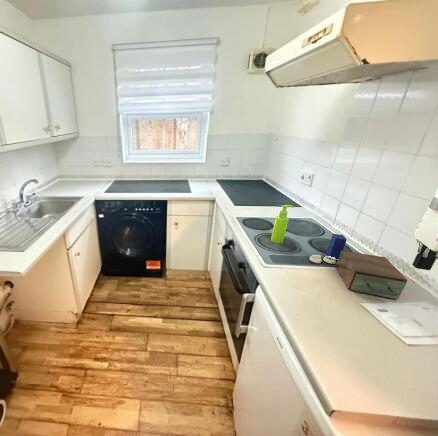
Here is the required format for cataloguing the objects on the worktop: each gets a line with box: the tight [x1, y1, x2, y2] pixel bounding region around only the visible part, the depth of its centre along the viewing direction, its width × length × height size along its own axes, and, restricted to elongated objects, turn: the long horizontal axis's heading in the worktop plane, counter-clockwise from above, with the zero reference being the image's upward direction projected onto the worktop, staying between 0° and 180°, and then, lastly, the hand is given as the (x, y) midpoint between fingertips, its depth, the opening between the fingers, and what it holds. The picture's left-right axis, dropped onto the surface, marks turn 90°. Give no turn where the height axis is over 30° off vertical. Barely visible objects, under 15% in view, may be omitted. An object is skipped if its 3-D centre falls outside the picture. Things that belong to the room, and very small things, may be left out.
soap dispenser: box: [270, 204, 294, 244], centre depth 122 cm, size 6×7×20 cm
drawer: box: [350, 273, 407, 300], centre depth 89 cm, size 19×13×7 cm
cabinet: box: [334, 250, 408, 300], centre depth 92 cm, size 16×15×9 cm
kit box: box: [325, 233, 348, 259], centre depth 108 cm, size 4×5×11 cm
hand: (420, 267), depth 67 cm, fingers closed
